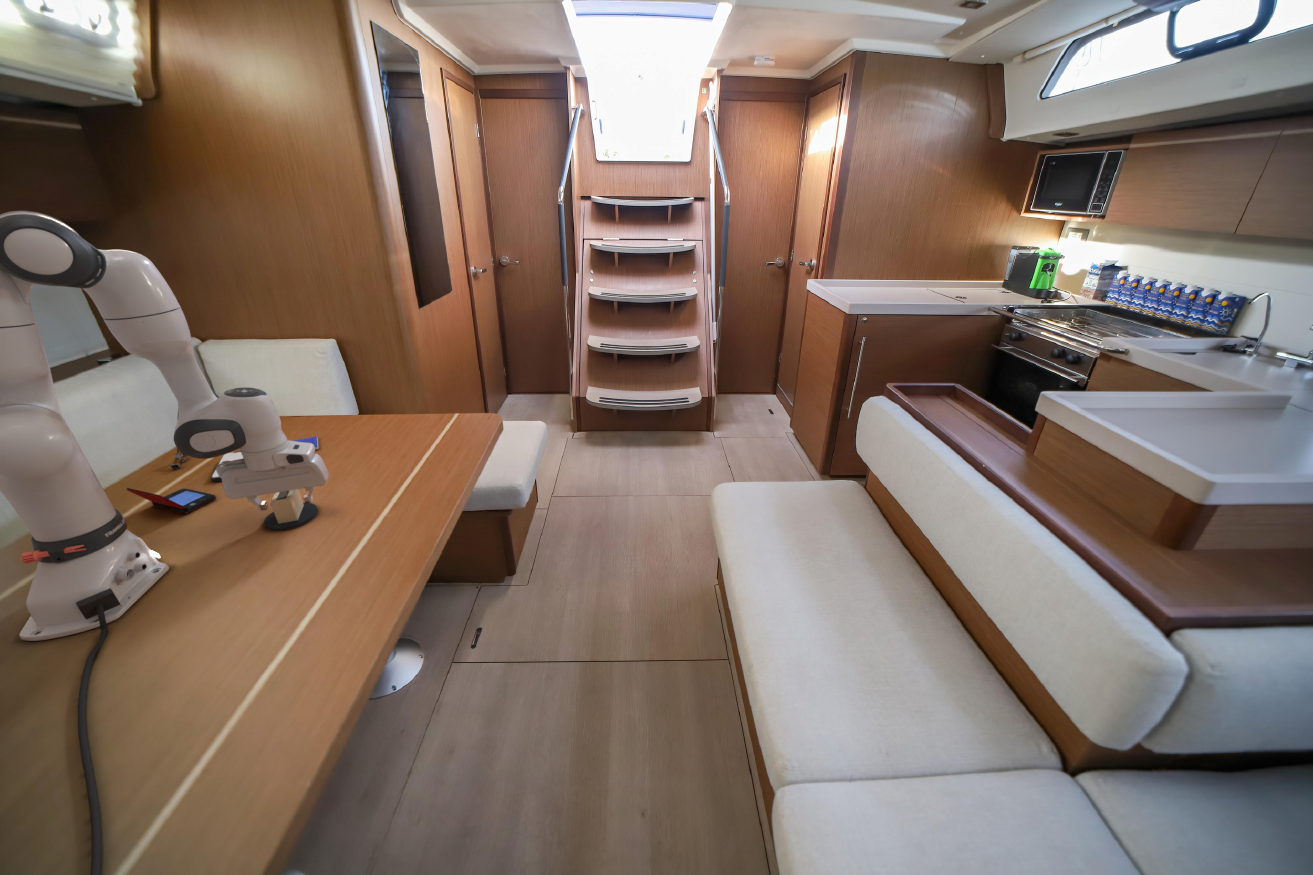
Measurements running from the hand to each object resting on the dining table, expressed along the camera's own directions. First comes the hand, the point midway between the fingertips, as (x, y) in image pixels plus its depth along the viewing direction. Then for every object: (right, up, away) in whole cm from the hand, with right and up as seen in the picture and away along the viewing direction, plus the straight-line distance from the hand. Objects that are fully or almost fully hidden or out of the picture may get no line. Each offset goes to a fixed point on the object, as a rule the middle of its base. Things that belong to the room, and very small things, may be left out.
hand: (287, 505), depth 121 cm
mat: (0, -3, +2) cm, 4 cm away
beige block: (0, -2, +2) cm, 3 cm away
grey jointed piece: (-50, +9, +26) cm, 57 cm away
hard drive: (-23, +13, +34) cm, 43 cm away
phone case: (-32, +8, +24) cm, 41 cm away
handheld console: (-32, -1, +6) cm, 33 cm away
